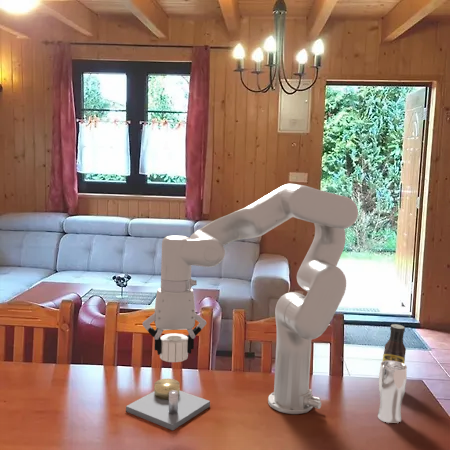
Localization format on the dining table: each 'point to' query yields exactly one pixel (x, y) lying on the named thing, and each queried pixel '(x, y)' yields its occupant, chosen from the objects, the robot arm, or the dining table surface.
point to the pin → (173, 402)
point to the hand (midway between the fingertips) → (173, 351)
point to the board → (159, 409)
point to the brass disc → (165, 388)
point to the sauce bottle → (395, 345)
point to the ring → (174, 347)
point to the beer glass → (391, 390)
